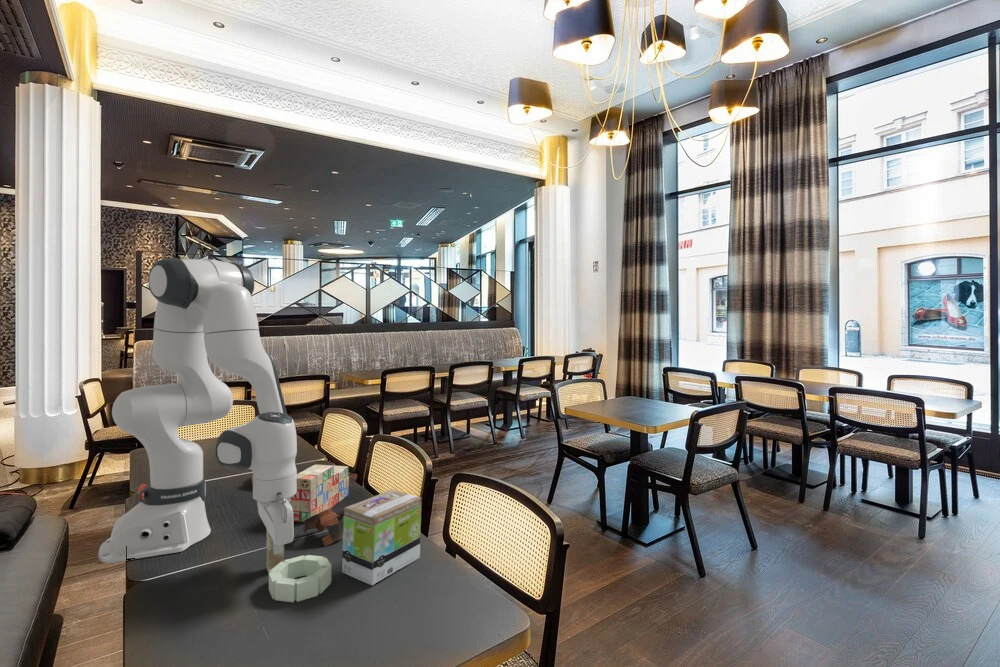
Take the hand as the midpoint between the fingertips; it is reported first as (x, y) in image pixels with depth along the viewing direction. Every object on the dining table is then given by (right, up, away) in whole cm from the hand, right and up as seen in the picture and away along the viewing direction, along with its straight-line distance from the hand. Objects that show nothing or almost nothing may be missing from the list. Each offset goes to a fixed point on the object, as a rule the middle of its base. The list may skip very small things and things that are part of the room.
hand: (275, 548), depth 107 cm
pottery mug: (+6, -5, +16) cm, 18 cm away
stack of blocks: (-3, -4, +36) cm, 36 cm away
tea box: (+23, -5, +2) cm, 24 cm away
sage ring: (+8, -5, -6) cm, 11 cm away
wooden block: (0, -5, 0) cm, 5 cm away
